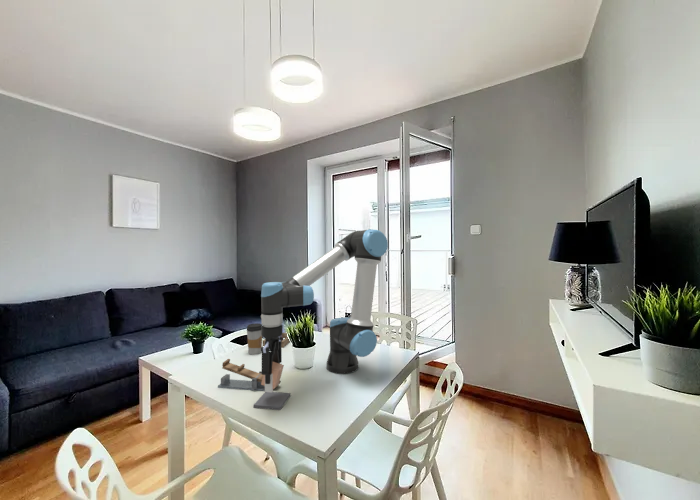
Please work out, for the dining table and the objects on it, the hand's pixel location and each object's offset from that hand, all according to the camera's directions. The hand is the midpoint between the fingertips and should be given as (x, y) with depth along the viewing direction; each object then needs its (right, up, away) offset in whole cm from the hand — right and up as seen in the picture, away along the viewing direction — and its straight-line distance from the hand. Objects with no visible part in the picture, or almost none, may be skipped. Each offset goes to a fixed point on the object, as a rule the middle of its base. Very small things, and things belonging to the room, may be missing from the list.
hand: (272, 387), depth 108 cm
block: (-1, +1, 0) cm, 2 cm away
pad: (0, -5, 0) cm, 5 cm away
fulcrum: (-14, -5, +12) cm, 19 cm away
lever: (-12, -1, +12) cm, 17 cm away
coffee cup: (-22, -5, +50) cm, 55 cm away
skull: (-15, -5, +66) cm, 68 cm away
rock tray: (-14, -5, +67) cm, 69 cm away
